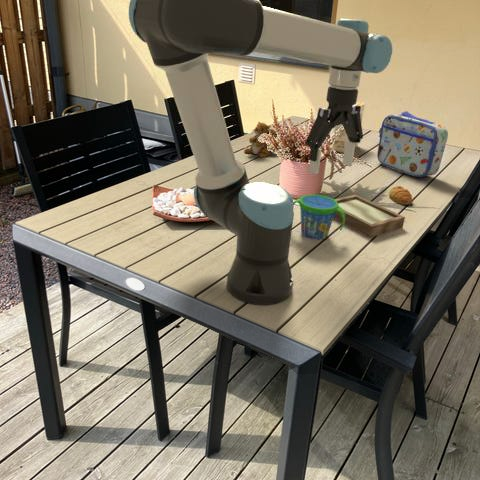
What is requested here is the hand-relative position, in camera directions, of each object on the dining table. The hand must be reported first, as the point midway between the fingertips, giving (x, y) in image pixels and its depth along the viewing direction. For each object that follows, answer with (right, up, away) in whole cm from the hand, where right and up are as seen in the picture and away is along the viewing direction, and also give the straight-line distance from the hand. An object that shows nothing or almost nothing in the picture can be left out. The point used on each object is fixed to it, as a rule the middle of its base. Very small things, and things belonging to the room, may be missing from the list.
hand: (330, 168), depth 133 cm
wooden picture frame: (+13, -13, +19) cm, 26 cm away
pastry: (+30, -6, +36) cm, 48 cm away
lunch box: (+41, +9, +65) cm, 78 cm away
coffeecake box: (+23, +22, +89) cm, 95 cm away
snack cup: (-3, -18, +8) cm, 20 cm away
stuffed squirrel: (-15, +17, +76) cm, 79 cm away
